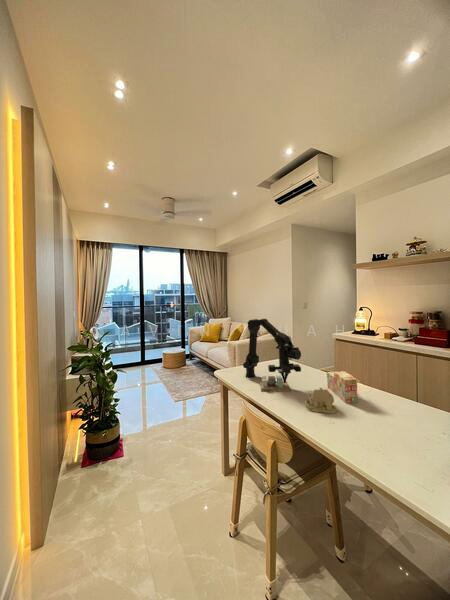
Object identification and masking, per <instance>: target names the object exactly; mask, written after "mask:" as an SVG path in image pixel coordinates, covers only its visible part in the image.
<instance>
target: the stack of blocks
mask: <svg viewBox="0 0 450 600" xmlns="http://www.w3.org/2000/svg"><path fill="white" fill-rule="evenodd" d="M326 378H327V380H326V381H327V389H328V390H330V391H331V392H332V393H334V395H336V396H337V397H338V398H339V399H340V400H341V401H342V402H344V404H353V403H355V402H357V403H358V384H357V383H358V379H357V378H356V377H354V376H353V375H352V374H349V373H348V372H346V371H345V370H344V371H343V370H342V371H328V372H326Z"/></svg>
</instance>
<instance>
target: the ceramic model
mask: <svg viewBox="0 0 450 600" xmlns="http://www.w3.org/2000/svg"><path fill="white" fill-rule="evenodd" d="M304 402H305V403H304V404H305V407H306V409H307V410H309V411H310V412H311V411H312V412H314V413H316V412H317V413H326V414H334V413H338V408H337V407H336V406H335V405H334V404H333V403H335V398H334V395H333V394H332V393H331V392H330V391H329V389H323V388H322V387H319V389H313V390H311V391H310V392H309V398H308V399H306V400H305V401H304Z"/></svg>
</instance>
